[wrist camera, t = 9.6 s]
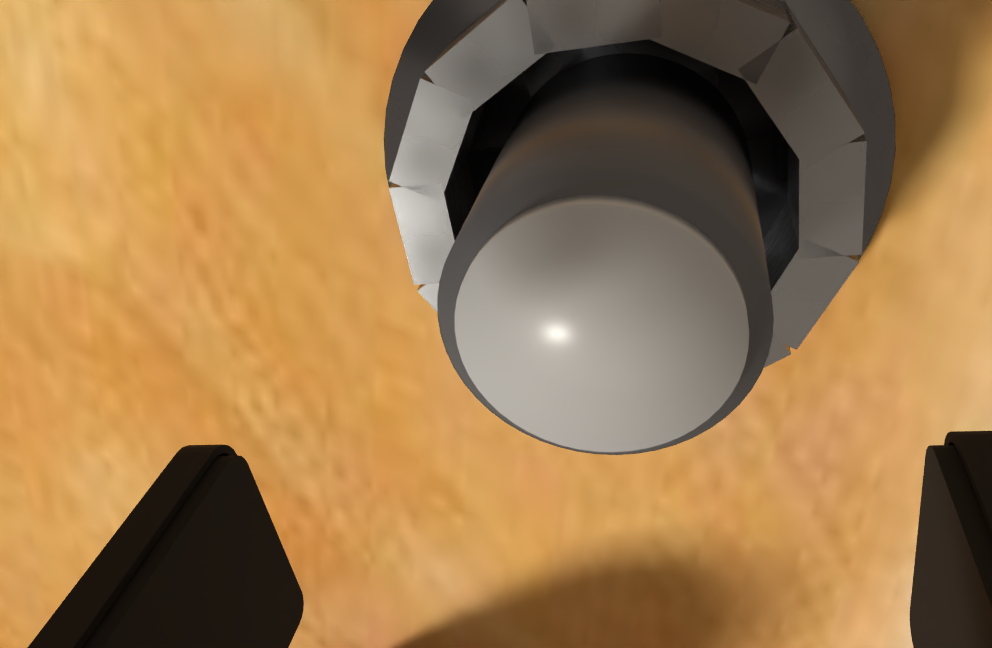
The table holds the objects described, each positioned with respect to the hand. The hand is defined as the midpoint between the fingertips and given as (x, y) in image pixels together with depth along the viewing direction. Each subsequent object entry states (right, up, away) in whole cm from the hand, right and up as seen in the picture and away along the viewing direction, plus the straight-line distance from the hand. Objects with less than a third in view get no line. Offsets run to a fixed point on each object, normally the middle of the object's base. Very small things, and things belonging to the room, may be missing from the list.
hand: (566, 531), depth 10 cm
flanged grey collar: (+2, +6, +10) cm, 12 cm away
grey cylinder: (+2, +6, +9) cm, 11 cm away
